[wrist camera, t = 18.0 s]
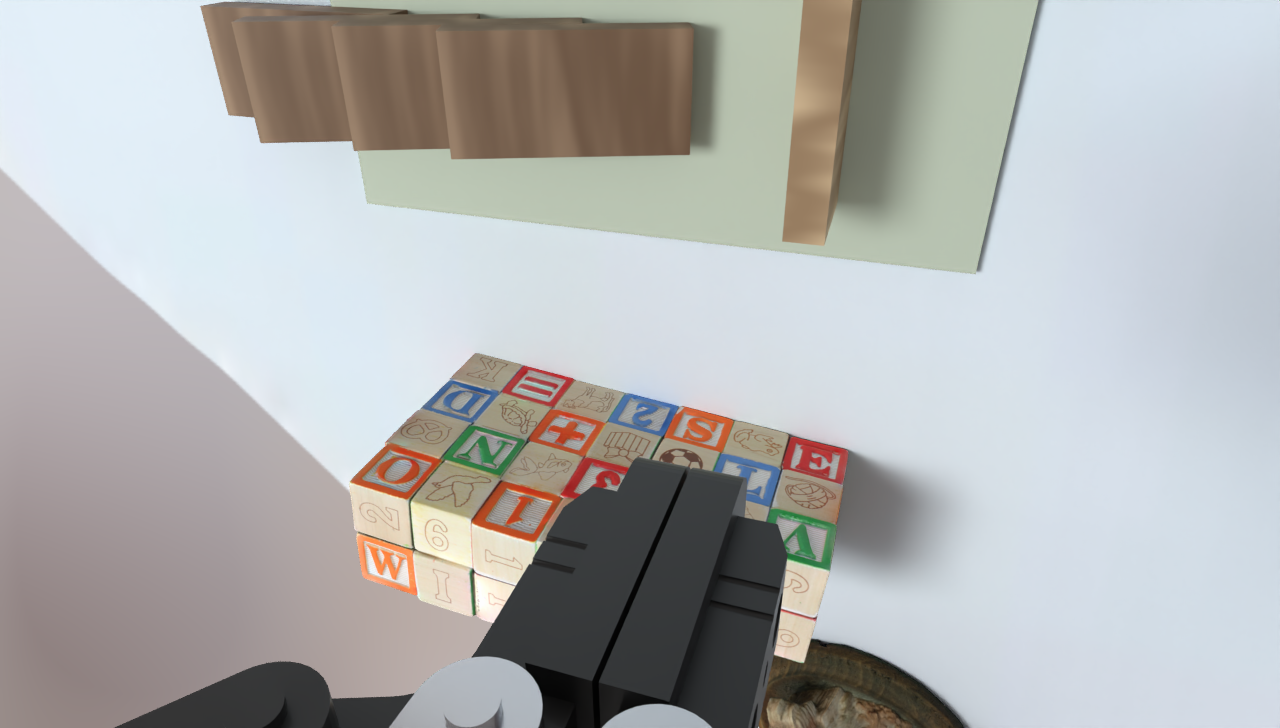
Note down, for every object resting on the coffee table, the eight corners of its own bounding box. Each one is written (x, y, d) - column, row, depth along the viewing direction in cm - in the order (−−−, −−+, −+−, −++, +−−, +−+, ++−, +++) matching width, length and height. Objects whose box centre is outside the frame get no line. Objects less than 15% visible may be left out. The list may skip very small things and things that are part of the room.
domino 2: (476, 18, 34) (231, 21, 33) (487, 138, 37) (260, 142, 36) (479, 13, 35) (244, 16, 35) (490, 128, 38) (272, 133, 37)
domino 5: (858, -49, 26) (824, 246, 31) (868, -59, 30) (837, 203, 35) (807, -50, 26) (782, 241, 31) (824, -59, 30) (799, 199, 35)
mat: (1077, -175, 27) (1078, -176, 26) (975, 270, 35) (975, 274, 35) (306, -161, 34) (300, -161, 34) (371, 201, 43) (367, 203, 42)
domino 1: (387, 14, 35) (200, 5, 38) (405, 130, 38) (228, 115, 40) (407, 9, 36) (225, 1, 39) (422, 122, 39) (250, 107, 42)
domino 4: (693, 28, 32) (435, 31, 31) (689, 154, 34) (451, 159, 34) (689, 22, 33) (441, 24, 33) (685, 144, 36) (456, 148, 35)
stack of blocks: (852, 445, 41) (826, 627, 31) (827, 534, 45) (795, 725, 35) (473, 350, 46) (342, 483, 36) (475, 438, 49) (357, 582, 39)
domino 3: (582, 23, 33) (330, 26, 32) (586, 145, 35) (353, 150, 35) (581, 17, 34) (340, 20, 34) (586, 135, 37) (362, 140, 36)
